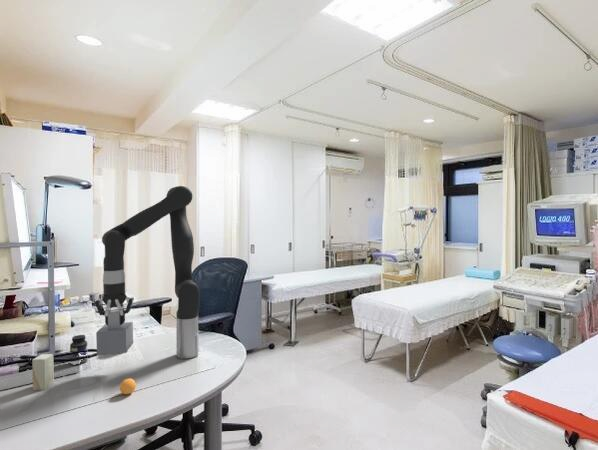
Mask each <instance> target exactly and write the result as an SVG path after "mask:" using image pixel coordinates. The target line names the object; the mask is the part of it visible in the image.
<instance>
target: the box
mask: <svg viewBox="0 0 598 450" xmlns="http://www.w3.org/2000/svg"><path fill="white" fill-rule="evenodd" d="M31 360H32V362H31V363H32V365H31V366H32V390H33V391H43V390H44V391H45V390H47V389H48V388H49V387H51V386H52V385H53V384H55V375H54V374H55V372H54V371H55V368H54V363H55V362H54V353H41V354H40V355H38V356H36V357H34V358H33V359H31Z"/></svg>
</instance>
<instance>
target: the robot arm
mask: <svg viewBox="0 0 598 450" xmlns="http://www.w3.org/2000/svg"><path fill="white" fill-rule="evenodd" d="M192 201H193V191H191V189H190V188H189V187H187V186H185V185H184V186H183V185H179V186H174V187H171V188H169V190H168V191H167V194H166V196H165V197H164V198H163V199H162V200H160V201H159V202H156V203H155V204H153V205H151V206H149V207H147V208H145V209H143V210H141V211H139V212H138V213H136V214H134V215H133V216H131V217H130V218H128V219H126V220H125V221H124V222H121V224H118V225H116V226H114V227H113V228H111V229H109V230H107V231H105V232H104V233H103V234H102V237H101V242H102V244H103V245H104V258H103V275H102V283H103V284H102V287H103V291H102V292H103V293H102V294H103V296H102V298H100V299H99V298H98V299H97V300H95V301H94V304H95V307H96V309H97V312H98V315H99V316H104V323H105V324H107V326H108V313H109V312H110V311H112V308H117V310H119V312H120V325H122V324H123V323H124V322H126V314H128V313H130V312H131V310H132V309H131V308H132V306H133V303H134V300H135V299H134V296H133V297H128V296H127V294H126V273H125V261H124V259H125V258H124V255H125V249H126V248H125V247H126V241H127V240H129V239H130V238H132V237H135V236H137V235H139V234H140V233H142V232H144V231H145V230H147V229H148V228H149V227H151V226H153V225H154V224H156V223H157V222H159V221H160V220H161V219H163V218H164V217H166V216H168V215H169V220H170V222H169V223H170V237H171V238H170V239H171V240H170V241H171V250H172V251H171V252H172V259H173V260H172V261H173V266H174V293H175V295H176V298H177V299H178V300H177V302H178V303H177V307H178V308H177V311H176V313H175V314H176V318H175V319H176V321H175V322H176V323H175V324H176V337H175V338H176V350H175V351H176V358H177V359H181V360H183V359H185V360H187V359H191V358H195V357H198V356H199V350H200V347H199V343H200V341H199V340H200V339H199V338H200V337H199V334H200V333H199V312H200V305H201V304H200V303H201V290H200V288H199V286H198V284H197V283H195V282H194V277H193V269H192V267H193V261H194V254H195V253H194V252H195V249H194V248H195V247H194V245H195V244H194V235H193V232H192V229H191V227H190V224H189V221H188V217H187V206H188V205H190V204H191V203H192ZM125 302H126V303H127V306H126V308H125V307H124V305H125V304H124V303H125ZM103 303H104V304H105V306H106V307H105V308H104V306H103ZM105 324H104V325H105Z"/></svg>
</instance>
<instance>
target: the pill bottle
mask: <svg viewBox="0 0 598 450" xmlns="http://www.w3.org/2000/svg"><path fill="white" fill-rule="evenodd" d="M71 339H72V340H71V341H72V342H71V343H70V344H69V345H70V346H69V353H70V352H77V351H86V350H87V352H82V353H80V354H81V355H86V354H87V355H88V341H87V340H86V335H85V334H78V335H77V334H76V335H74V336H72V338H71ZM87 361H88V358H87V359H83V360H81V362H80V363H81V364H80V365H83V364H84V363H86V362H87Z"/></svg>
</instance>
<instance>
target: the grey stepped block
mask: <svg viewBox="0 0 598 450" xmlns="http://www.w3.org/2000/svg"><path fill="white" fill-rule="evenodd" d="M95 333H96V356H107V355H108V356H109V355H117V354H126V353H128V352H129V351H130V350H129V349H130V348H131V347H132V346H133V344H134V322H133V321H127V322H126V321H125V322H124V323H123V324H122V325H120V312H119V310H118V309H117V310H115V309H114V310H111V311H110V312H109V313H108V326H107V324H103V326H102V327H100V328H99V329H98V330H97V331H96V332H95ZM128 350H129V351H128ZM127 351H128V352H127Z"/></svg>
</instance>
